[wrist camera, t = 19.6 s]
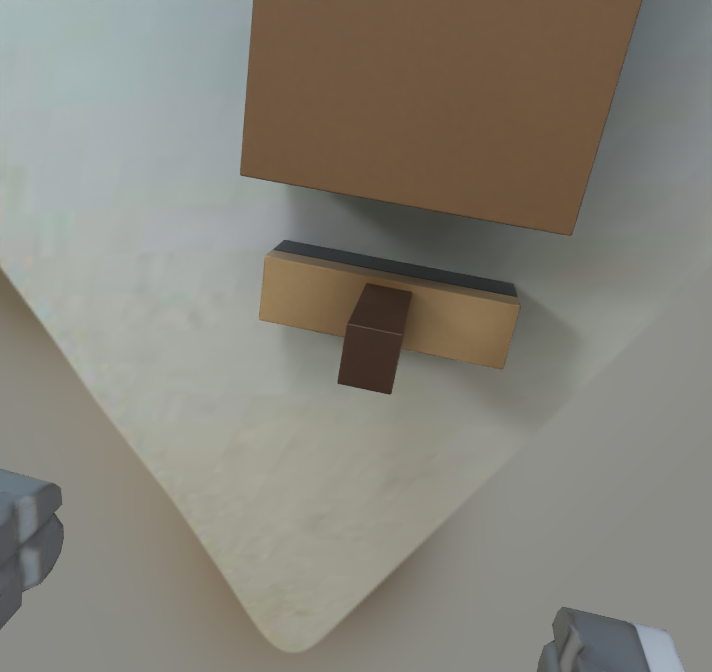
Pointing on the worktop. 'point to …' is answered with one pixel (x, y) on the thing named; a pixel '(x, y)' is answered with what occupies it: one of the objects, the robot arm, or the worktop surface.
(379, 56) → the cabinet
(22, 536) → the robot arm
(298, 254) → the brush
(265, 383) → the worktop surface
